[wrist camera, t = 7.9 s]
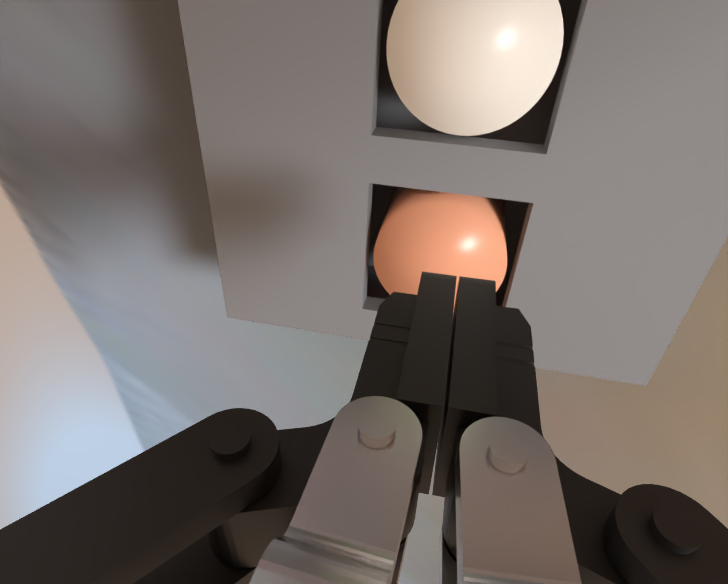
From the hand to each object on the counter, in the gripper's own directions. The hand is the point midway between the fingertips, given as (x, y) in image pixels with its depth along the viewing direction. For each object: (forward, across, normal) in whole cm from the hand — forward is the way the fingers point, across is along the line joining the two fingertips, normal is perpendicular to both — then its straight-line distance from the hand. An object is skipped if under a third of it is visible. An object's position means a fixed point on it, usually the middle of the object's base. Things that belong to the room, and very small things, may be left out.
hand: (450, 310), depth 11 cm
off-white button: (+10, 0, -4) cm, 11 cm away
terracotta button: (+10, 0, +2) cm, 10 cm away
